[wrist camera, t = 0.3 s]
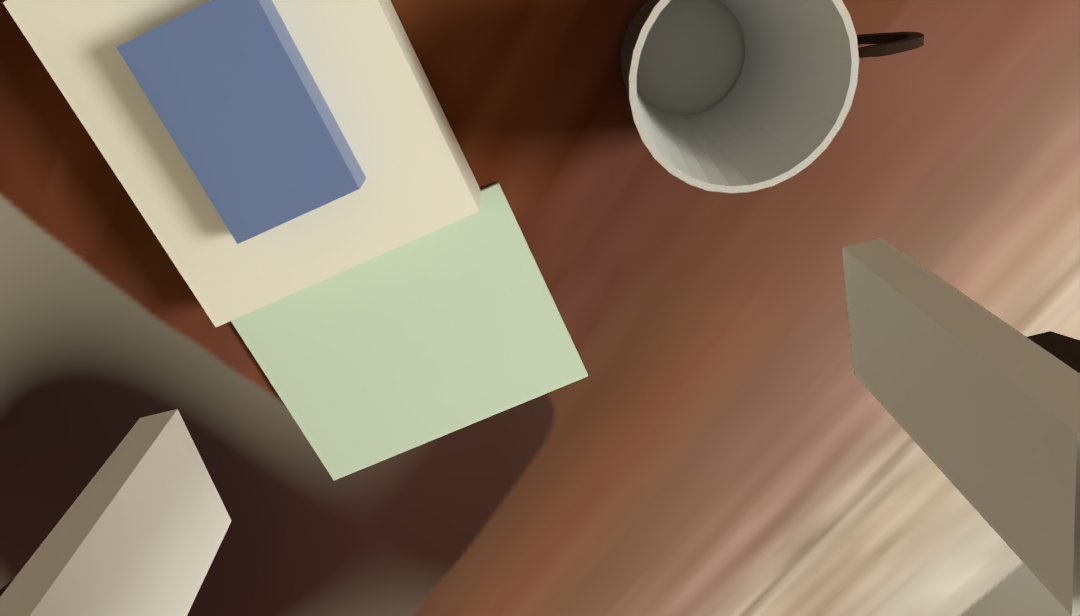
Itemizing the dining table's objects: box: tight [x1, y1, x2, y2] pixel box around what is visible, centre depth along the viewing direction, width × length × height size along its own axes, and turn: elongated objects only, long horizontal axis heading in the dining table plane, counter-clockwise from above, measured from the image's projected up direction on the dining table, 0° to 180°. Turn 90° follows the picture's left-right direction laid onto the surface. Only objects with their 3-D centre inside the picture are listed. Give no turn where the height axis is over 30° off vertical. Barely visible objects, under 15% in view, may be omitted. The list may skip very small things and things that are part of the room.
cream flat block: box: [3, 0, 481, 327], centre depth 37 cm, size 16×14×4 cm
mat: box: [231, 182, 588, 480], centre depth 44 cm, size 12×16×1 cm
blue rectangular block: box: [116, 0, 366, 244], centre depth 34 cm, size 9×6×2 cm, turn 24°
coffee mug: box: [620, 0, 924, 194], centre depth 35 cm, size 12×9×10 cm
